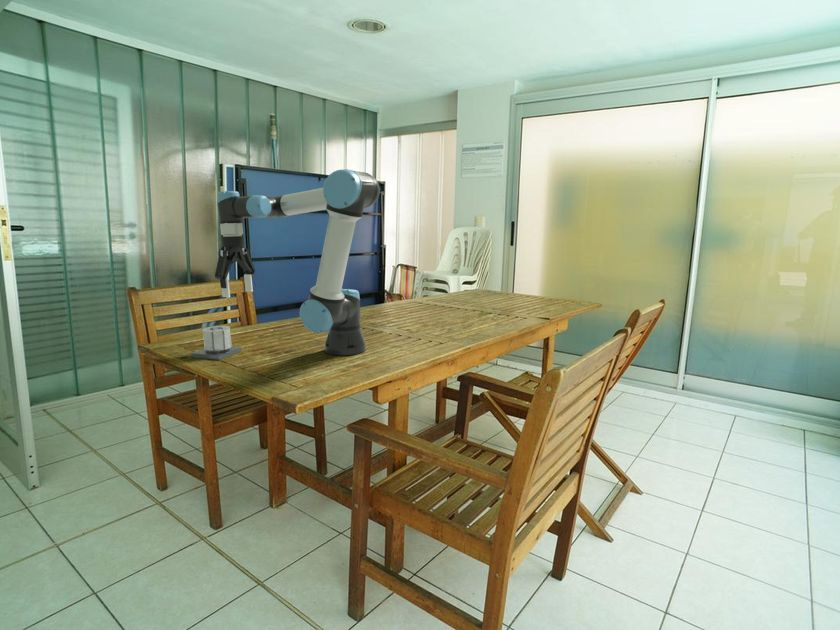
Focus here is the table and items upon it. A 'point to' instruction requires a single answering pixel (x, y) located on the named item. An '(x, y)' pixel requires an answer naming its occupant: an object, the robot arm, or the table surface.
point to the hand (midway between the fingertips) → (238, 294)
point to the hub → (217, 338)
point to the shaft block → (216, 353)
